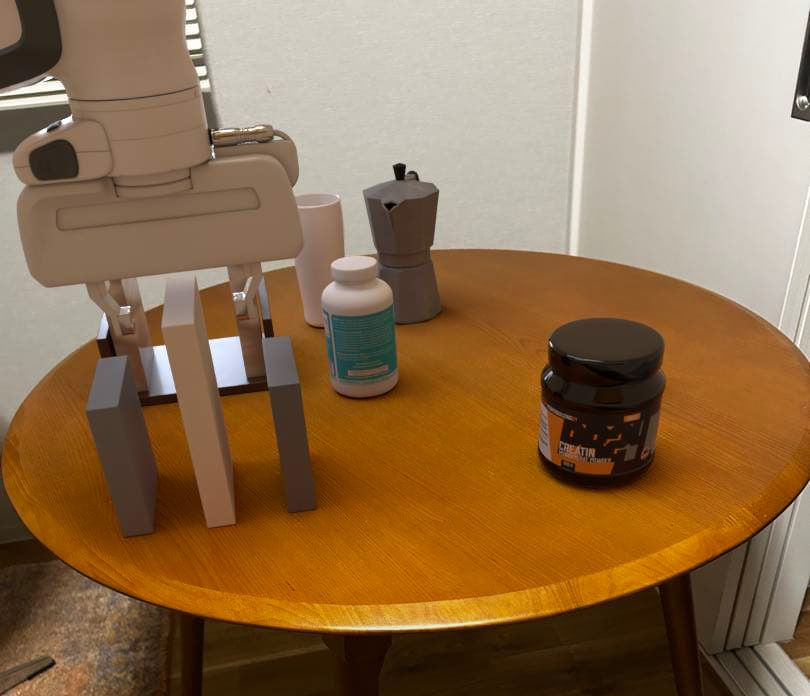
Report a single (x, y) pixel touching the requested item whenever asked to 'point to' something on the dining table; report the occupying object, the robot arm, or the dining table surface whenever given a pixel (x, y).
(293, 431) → the grey books
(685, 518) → the dining table surface
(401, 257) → the coffeepot
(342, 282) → the pill bottle
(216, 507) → the white book
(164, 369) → the book rack
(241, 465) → the dining table surface
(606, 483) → the supplement container
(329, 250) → the drinking glass
